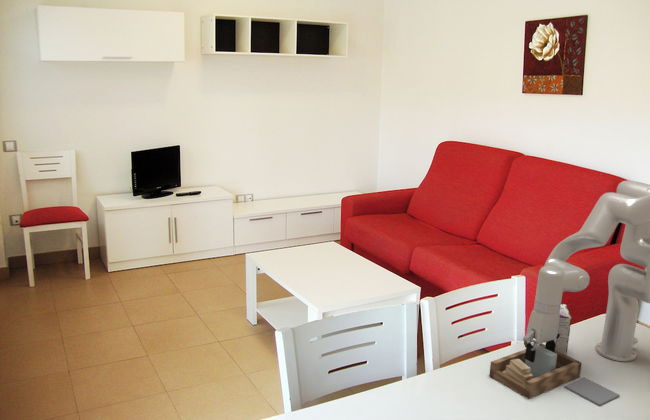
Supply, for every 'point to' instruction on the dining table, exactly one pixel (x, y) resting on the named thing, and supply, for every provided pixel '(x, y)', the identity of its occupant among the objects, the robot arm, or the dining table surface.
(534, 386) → the tray
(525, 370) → the offcut
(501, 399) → the dining table surface
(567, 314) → the candy bar box
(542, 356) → the block
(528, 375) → the offcut
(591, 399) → the felt pad
